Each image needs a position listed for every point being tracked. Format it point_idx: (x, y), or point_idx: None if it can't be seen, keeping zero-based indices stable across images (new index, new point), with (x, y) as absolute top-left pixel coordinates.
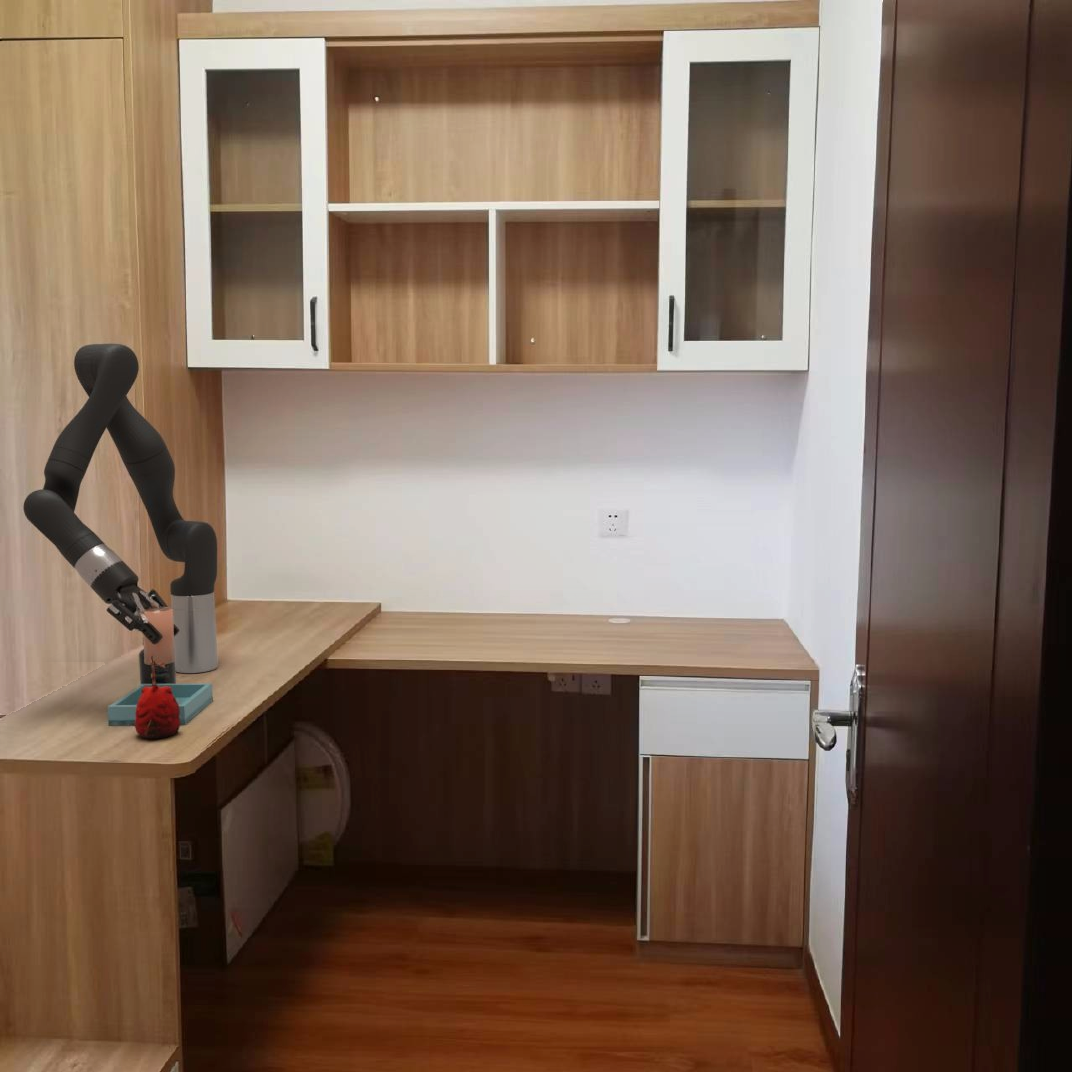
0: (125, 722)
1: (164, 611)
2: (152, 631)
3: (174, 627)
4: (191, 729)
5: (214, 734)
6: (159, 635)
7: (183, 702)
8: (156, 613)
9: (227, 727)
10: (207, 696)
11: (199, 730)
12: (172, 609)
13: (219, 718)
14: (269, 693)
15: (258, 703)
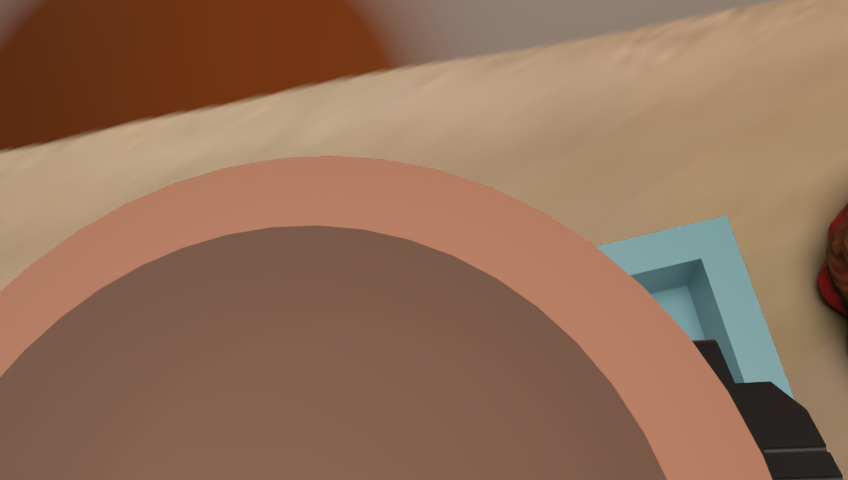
0: None
1: (518, 202)
2: (780, 472)
3: None
4: (767, 177)
5: (804, 21)
6: (716, 355)
7: (645, 271)
8: (700, 383)
9: (675, 27)
10: None
11: (769, 127)
12: (163, 191)
13: (539, 147)
14: (62, 147)
15: (246, 105)
